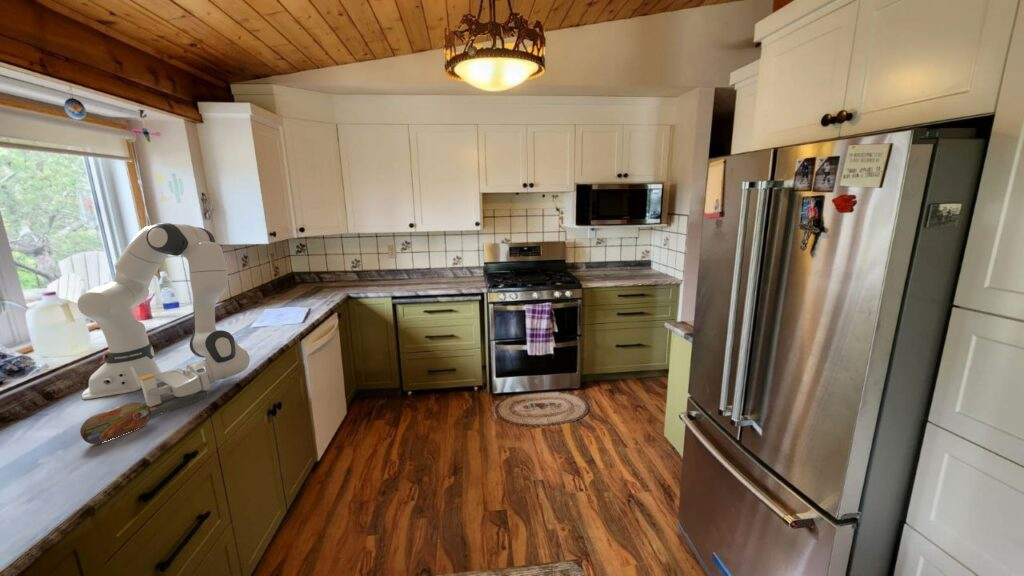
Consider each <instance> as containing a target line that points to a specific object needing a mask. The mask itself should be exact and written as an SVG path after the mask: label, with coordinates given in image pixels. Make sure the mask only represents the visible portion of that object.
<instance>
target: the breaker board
mask: <svg viewBox="0 0 1024 576" xmlns="http://www.w3.org/2000/svg"><path fill="white" fill-rule="evenodd" d="M207 396H208V397H209V392H208V390H205V391H203V390H201V391H199V392H196V393H193V394H190V395H186V396H182V397H176V396H175V395H173V394H171V393H170V394H168V395H165V396H162V397H160V399H161V403H160V404H157V405H154V406H152V407H149V406H148V405H147V404H146V402H145V403H144V404H145V405H146V406H148V407H149V409H150V411H151V417H152V418H154V416H155V417H157V416H160V415H162V414H161V413H163V414H165V413H167V411H168V412H170V411H173V410H175V408H176V409H178V408H180V406H181V407H184V406H186V405H188V404H191V402H192V403H193V402H194V403H195V402H197V401H199V399H200V400H202V399H204V398H208V397H207ZM183 405H184V406H183ZM164 412H165V413H164ZM159 414H160V415H159ZM156 415H157V416H156ZM151 417H150V419H151Z"/></svg>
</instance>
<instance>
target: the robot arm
mask: <svg viewBox="0 0 1024 576" xmlns="http://www.w3.org/2000/svg"><path fill="white" fill-rule="evenodd" d="M168 256H174V257H178V256H179V257H180V256H182V257H184V258H185V259H186V261H187V263H188V270H189V271H188V273H189V279H190V280H189V281H190V288H191V294H192V305H193V307H192V309H193V332H192V336H191V338H190V339H189V340H190V341H189V349H190V351H191V353H192V354H193V355H195V356H196V357H199V358H202V359H203V358H204V359H203V360H199V361H197V362H194V363H190V364H188V365H186V367H185V369H183V368H174V369H169V370H166V371H161V369H160V367H159V365H158V363H157V362H156V360H155V351H154V347H153V346H152V343H151V342H150V340H149V336H148V333H147V330H146V326H145V324H144V323H143V322H142V321H139V320H137V318H136V317H135V316H134V314H133V313H132V309H134V308H136V307H138V306H139V305H142V304H143V302H145V301H146V300H147V299H148V297H149V296H150V290H149V288H150V285H151V282H152V280H153V278H154V276H155V275H156V273H157V272H158V271H159V269H160V268H161V266H162V264H163V263H164V261H165V260H166V259H167V257H168ZM114 270H115V273H114V276H113V278H112V280H110V281H109V282H107V283H106V284H105V283H104V284H103V285H98V286H96V287H92V288H90V289H89V290H87V291H86V292H84V293H83V294H81V295H80V296H79V297H78V299H77V305H76V306H77V307H78V310H79V312H80V313H81V314H83V316H86V317H87V318H90V319H92V320H93V321H94V322H95V323H96V324H97V326H98V327H99V328H100V329H101V331H102V333H103V335H104V339H105V341H106V343H107V344H106V345H107V347H108V349H107V350H106V351H105V352H104V354H103V355H102V361H104V364H102V365H101V366H100V367H99V368H98V369H96V371H94V373H92V374H91V375H90V377H89V379H88V387H87V388H86V389H85V390H84V391H83V392H82V394H81V398H82V400H91V399H96V398H103V397H108V396H115V395H120V394H121V395H122V394H127V393H132V392H133V393H134V392H136V391H139V390H141V389H142V386H141V383H140V379H139V377H141V376H144V375H147V374H153V375H154V377H155V381H156V384H157V389H152V390H149V391H148V392H149V395H150V396H155V395H158V394H159V395H162V394H163V395H164V394H168V393H170V394H173V395H175V396H176V397H182V396H186V395H190V394H193V393H196V392H199V391H201V390H203V391H205V390H206V391H208V390H210V389H211V385H212V384H214V383H216V382H217V381H220V380H226V379H228V378H232V377H234V376H236V375H239V374H241V373H243V372H245V371H246V370H247V369H248V367H249V365H250V363H251V362H250V360H251V359H250V354H249V353H248V351H247V350H246V349H244V348H243V347H241V346H240V345H239V344H238V343H237V341H236V340H235V338H234V336H233V334H231V333H230V332H229V331H227V330H217V327H216V314H215V313H216V312H215V311H216V310H215V308H216V304H217V302H218V300H219V299H220V298H221V296H223V294H224V293H225V292H226V291H227V289H228V282H229V273H228V267H227V261H226V259H225V254H224V252H223V248H222V247H221V245H220V244H218V243H216V239H215V236H214V235H213V234H212V233H211V231H209V230H207V229H205V228H203V227H199V226H193V225H191V224H190V225H189V224H177V223H171V222H162V223H161V222H160V223H155V224H153V225H149V226H148V225H147V226H145V227H144V228H142V229H141V230H140V231H139V232H137V234H136V235H135V236H134V237H133V238H132V239H131V240H130V241H129V243H128V244H127V246H126V247H125V248H124V250H123V252H122V253H121V255H120V256H119V257H118V259H117V260H116V262H115V263H114Z"/></svg>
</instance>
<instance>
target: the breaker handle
mask: <svg viewBox="0 0 1024 576" xmlns="http://www.w3.org/2000/svg"><path fill="white" fill-rule="evenodd" d="M139 379H140V383H141V386H142V388H141V389H142V392H143V396H144V399H145V403H146V404H147V405H148V406H149V407H152V406H154V405H157V404H160V403H161V399H160V398H161V394H158V395H155V396H150V395H149V392H148V391H149V390H152V389H157V384H156V381H155V377H154V375H153V374H147V375H144V376H141V377H139Z"/></svg>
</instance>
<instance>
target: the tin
mask: <svg viewBox="0 0 1024 576" xmlns="http://www.w3.org/2000/svg"><path fill="white" fill-rule="evenodd" d="M150 417H151V411H150V409H149V407H148V406H146V405H145V403H141V402H136V401H135V402H134V401H133V402H127V403H124V404H123V405H119V406H116V407H114V408H111V409H108V410H106V411H103V412H99V413H97V414H94V415H92V416H90V417H89V418H87V419H86V420H85V421H84V422H83V423H82V425H81V427H80V430H79V431H80V436H81V438H82V439H83V441H85V442H86V443H88V444H91V445H101V444H100V443H102V442H104V441H108V440H110V439H112V438H116V437H118V436H121V435H123V434H126V433H128V432H131V431H133V432H135V431H134V430H136V429H138V428H140V429H142V428H143V427H145V426H146V425H147V423H148V422H149V421H150V419H151V418H150ZM141 427H142V428H141ZM138 430H139V429H138ZM136 431H137V430H136ZM131 433H132V432H131ZM128 434H129V433H128ZM126 435H127V434H126ZM121 437H122V436H121ZM116 439H117V438H116Z"/></svg>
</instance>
